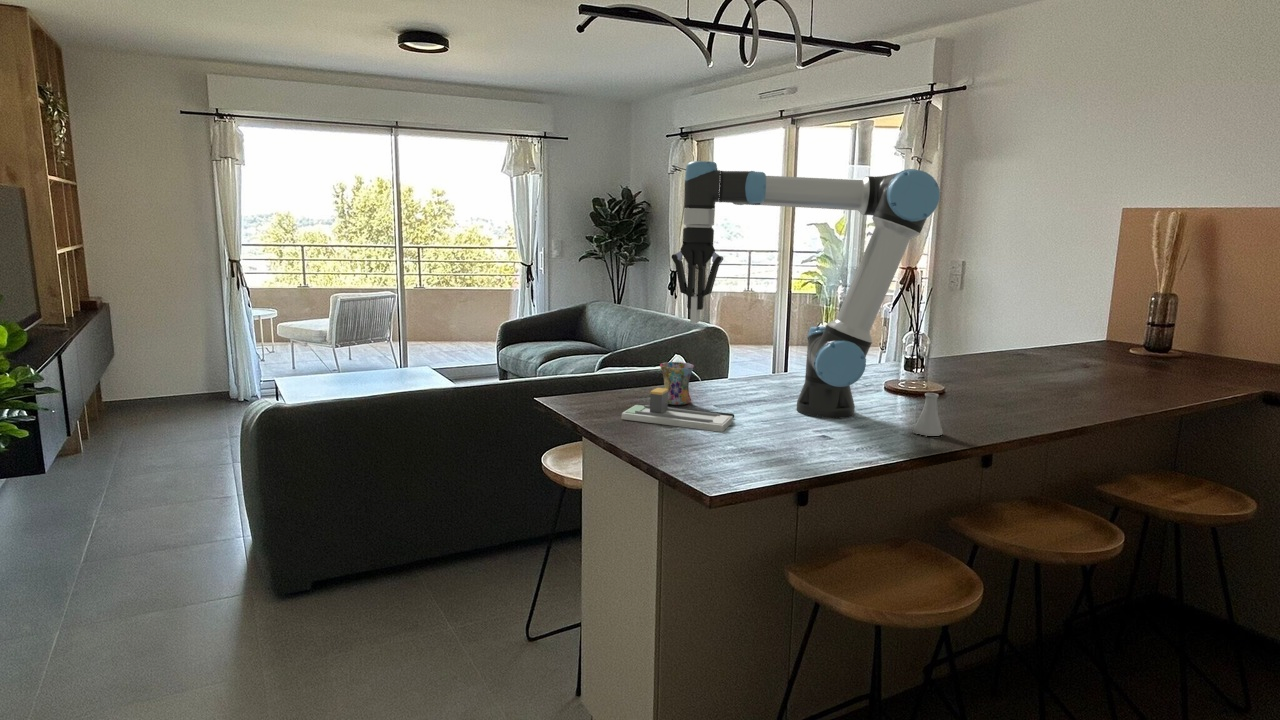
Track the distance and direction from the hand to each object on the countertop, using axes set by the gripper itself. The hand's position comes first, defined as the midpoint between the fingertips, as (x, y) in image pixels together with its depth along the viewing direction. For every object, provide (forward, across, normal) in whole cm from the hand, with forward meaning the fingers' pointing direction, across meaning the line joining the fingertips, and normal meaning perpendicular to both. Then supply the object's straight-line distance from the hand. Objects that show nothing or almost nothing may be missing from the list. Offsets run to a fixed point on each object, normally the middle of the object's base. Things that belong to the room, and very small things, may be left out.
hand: (694, 322), depth 192 cm
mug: (+25, +9, -14) cm, 30 cm away
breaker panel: (+24, +2, +5) cm, 25 cm away
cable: (+24, +1, -3) cm, 25 cm away
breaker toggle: (+23, +7, +5) cm, 24 cm away
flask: (+25, -57, -11) cm, 63 cm away
